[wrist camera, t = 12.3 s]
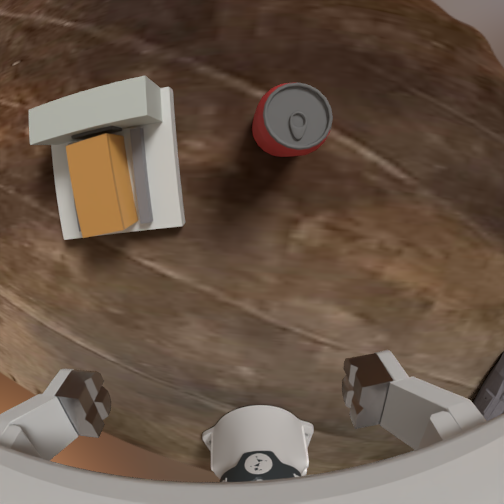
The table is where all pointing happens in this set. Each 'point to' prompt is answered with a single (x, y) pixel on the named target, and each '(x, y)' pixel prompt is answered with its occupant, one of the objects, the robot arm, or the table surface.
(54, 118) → the white l-shaped stand
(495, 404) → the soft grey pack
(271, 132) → the beer can
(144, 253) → the table surface
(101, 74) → the table surface
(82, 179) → the cardboard box
